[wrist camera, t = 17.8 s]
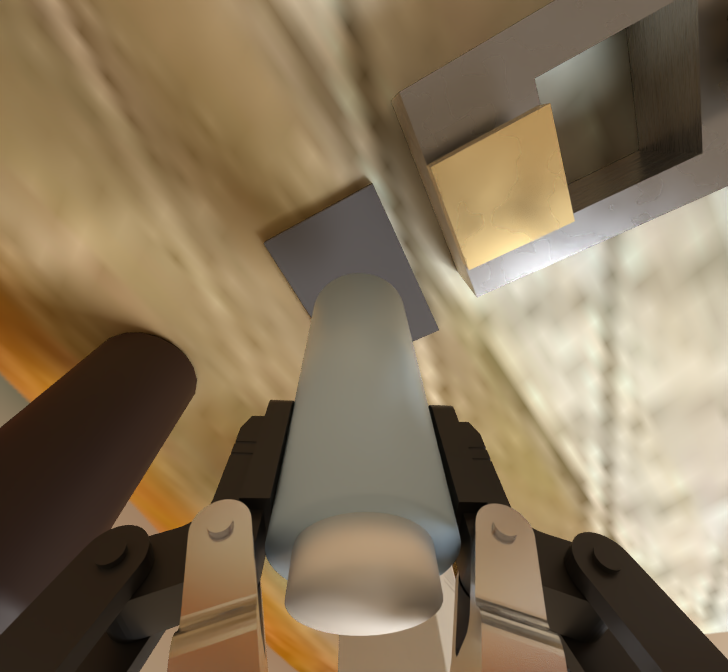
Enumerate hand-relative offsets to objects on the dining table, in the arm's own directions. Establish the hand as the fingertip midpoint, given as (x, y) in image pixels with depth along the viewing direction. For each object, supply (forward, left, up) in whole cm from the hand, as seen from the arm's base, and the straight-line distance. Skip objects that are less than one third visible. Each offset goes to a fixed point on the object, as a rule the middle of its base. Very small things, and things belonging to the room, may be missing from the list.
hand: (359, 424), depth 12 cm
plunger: (-8, -3, -11) cm, 14 cm away
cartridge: (0, -1, -7) cm, 7 cm away
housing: (-14, -3, -12) cm, 19 cm away
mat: (0, 0, -12) cm, 12 cm away
